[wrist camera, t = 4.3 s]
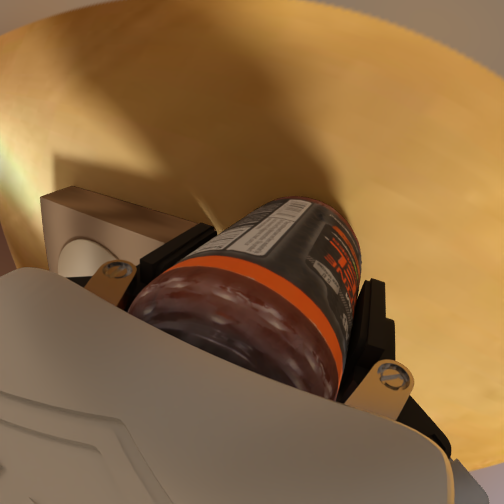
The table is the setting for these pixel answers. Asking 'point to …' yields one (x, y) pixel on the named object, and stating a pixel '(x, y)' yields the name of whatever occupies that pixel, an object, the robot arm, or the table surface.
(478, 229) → the table surface
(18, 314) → the robot arm
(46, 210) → the walnut stand
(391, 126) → the table surface
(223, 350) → the supplement bottle
